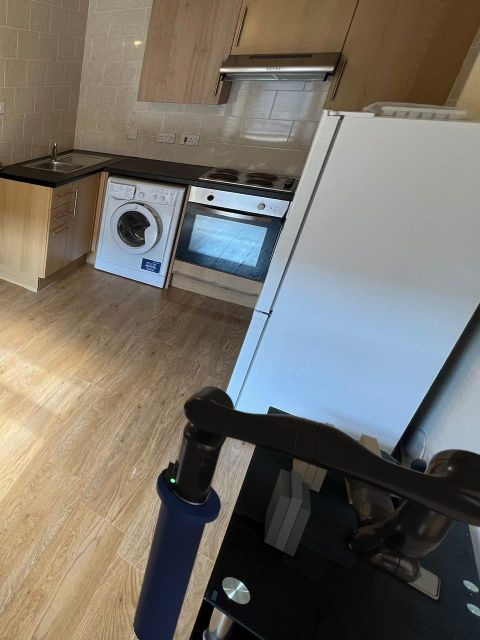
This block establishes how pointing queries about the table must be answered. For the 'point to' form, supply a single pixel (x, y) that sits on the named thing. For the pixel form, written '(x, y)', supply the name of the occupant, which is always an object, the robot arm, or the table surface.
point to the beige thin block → (372, 446)
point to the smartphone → (426, 583)
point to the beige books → (310, 473)
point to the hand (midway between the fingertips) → (362, 461)
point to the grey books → (287, 512)
